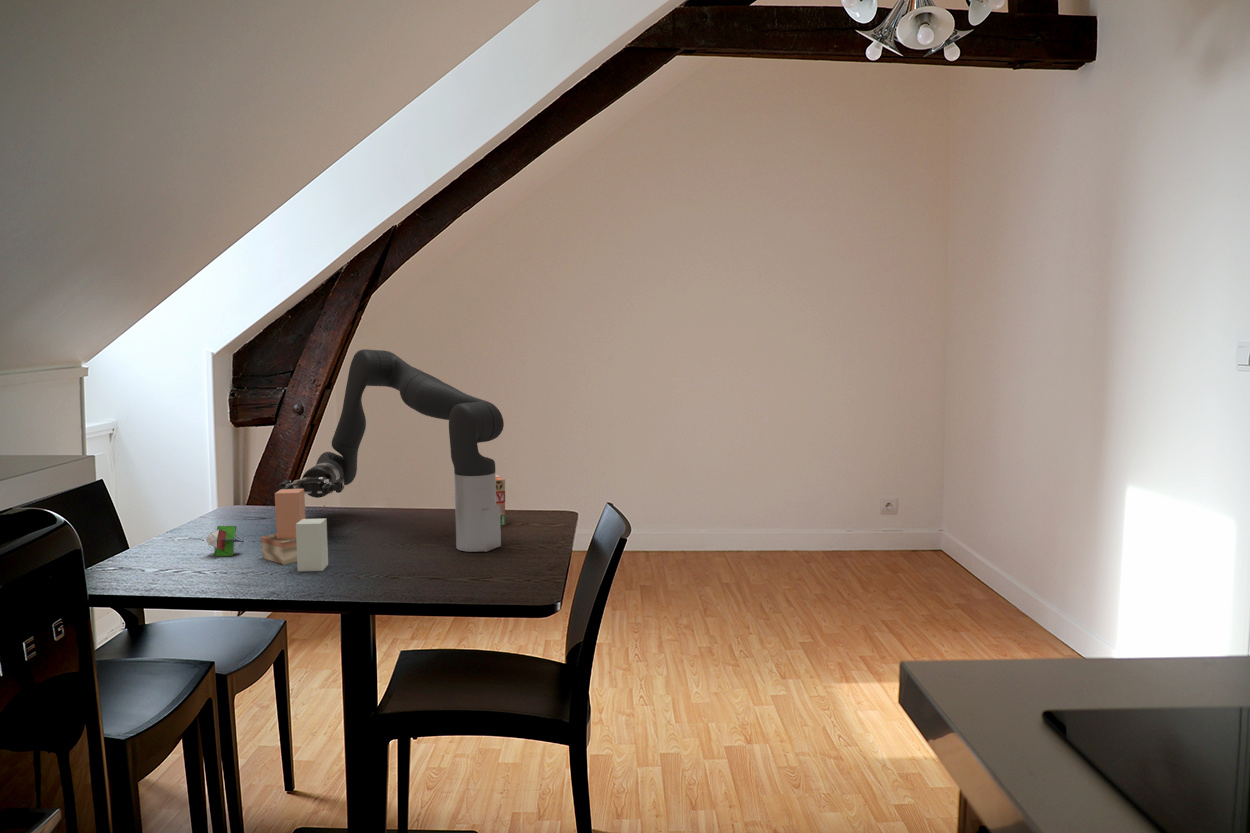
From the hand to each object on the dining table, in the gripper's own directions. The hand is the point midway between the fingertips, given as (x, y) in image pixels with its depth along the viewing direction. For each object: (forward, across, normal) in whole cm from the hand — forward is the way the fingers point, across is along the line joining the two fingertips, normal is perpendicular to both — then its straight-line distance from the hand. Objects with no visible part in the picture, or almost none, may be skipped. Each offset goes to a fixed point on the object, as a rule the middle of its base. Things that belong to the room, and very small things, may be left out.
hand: (304, 492), depth 211 cm
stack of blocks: (-24, +39, +14) cm, 47 cm away
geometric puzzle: (+7, -16, +12) cm, 21 cm away
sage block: (+21, +6, +12) cm, 25 cm away
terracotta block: (+11, 0, +8) cm, 13 cm away
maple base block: (+11, 0, +13) cm, 17 cm away
